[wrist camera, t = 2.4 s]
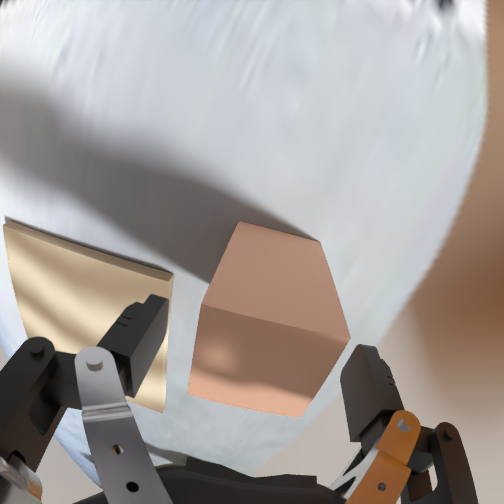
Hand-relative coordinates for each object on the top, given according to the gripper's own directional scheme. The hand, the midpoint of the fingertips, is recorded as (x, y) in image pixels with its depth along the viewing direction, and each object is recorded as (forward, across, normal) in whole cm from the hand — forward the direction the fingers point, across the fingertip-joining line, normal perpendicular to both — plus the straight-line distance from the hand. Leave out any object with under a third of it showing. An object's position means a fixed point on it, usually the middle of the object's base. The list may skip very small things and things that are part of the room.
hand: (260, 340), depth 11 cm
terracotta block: (+6, 0, 0) cm, 6 cm away
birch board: (+6, +14, +9) cm, 17 cm away
